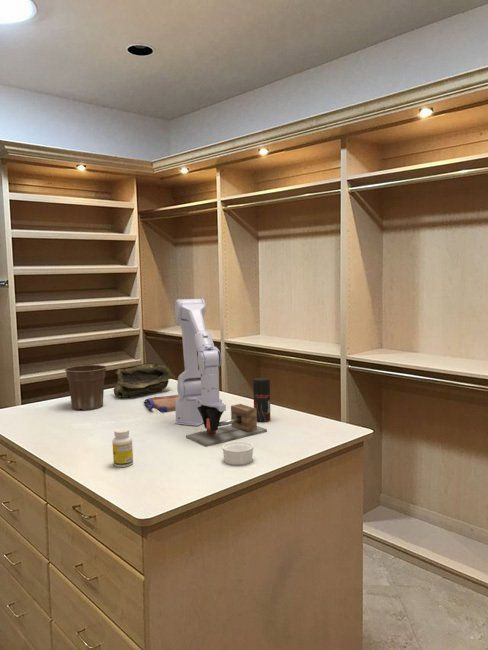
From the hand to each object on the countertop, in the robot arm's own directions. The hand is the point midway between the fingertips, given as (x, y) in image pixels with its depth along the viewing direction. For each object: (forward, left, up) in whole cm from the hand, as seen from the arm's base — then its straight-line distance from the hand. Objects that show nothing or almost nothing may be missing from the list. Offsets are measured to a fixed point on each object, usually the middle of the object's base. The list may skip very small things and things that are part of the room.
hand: (211, 429), depth 173 cm
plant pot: (-66, +20, -3) cm, 70 cm away
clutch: (-34, +36, -4) cm, 50 cm away
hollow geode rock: (-58, +48, -3) cm, 76 cm away
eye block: (+3, +5, -3) cm, 7 cm away
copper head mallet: (+4, +7, -1) cm, 8 cm away
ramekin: (+17, -16, -3) cm, 23 cm away
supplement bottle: (-12, -30, -3) cm, 32 cm away
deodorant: (+8, +25, -3) cm, 27 cm away
